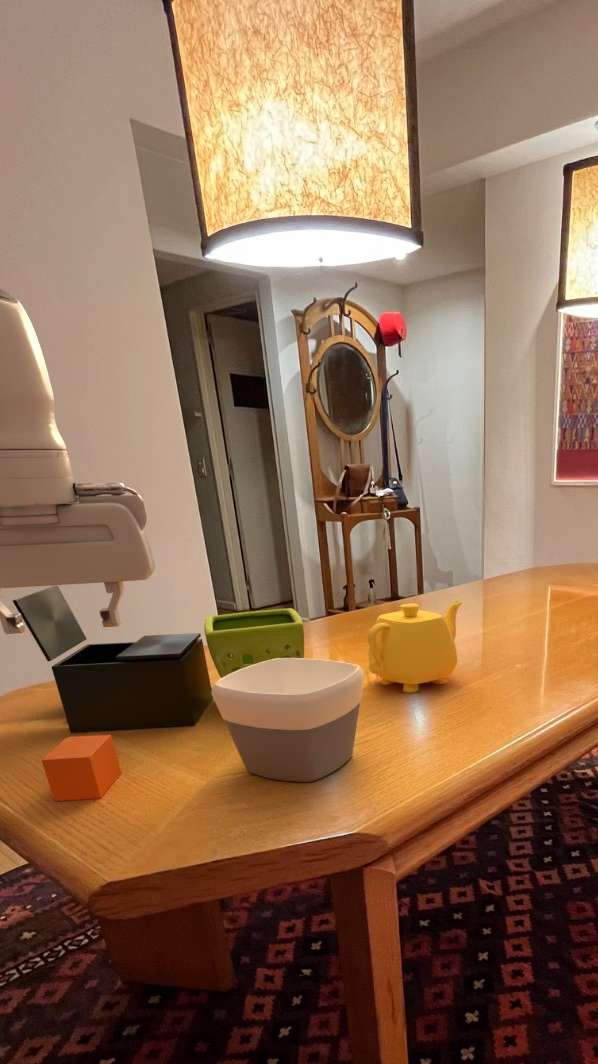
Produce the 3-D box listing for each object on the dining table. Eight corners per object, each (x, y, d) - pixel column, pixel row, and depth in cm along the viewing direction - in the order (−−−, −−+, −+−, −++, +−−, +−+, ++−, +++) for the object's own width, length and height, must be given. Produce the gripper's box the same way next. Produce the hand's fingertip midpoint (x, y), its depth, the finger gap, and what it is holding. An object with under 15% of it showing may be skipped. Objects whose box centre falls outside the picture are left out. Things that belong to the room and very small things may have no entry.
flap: (51, 660, 90) (47, 661, 90) (87, 639, 102) (84, 640, 102) (15, 599, 86) (11, 600, 86) (57, 584, 98) (53, 585, 98)
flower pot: (304, 683, 114) (294, 606, 108) (315, 707, 102) (305, 622, 96) (218, 692, 110) (203, 613, 105) (219, 719, 98) (202, 631, 93)
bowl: (285, 734, 92) (274, 653, 87) (385, 748, 86) (379, 663, 81) (209, 778, 79) (190, 686, 74) (320, 798, 74) (308, 700, 69)
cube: (101, 798, 75) (89, 757, 73) (54, 801, 75) (41, 760, 72) (121, 773, 81) (111, 734, 79) (78, 775, 81) (67, 737, 79)
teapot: (348, 684, 112) (340, 606, 107) (439, 662, 124) (436, 590, 119) (397, 702, 103) (392, 618, 98) (491, 676, 115) (491, 599, 109)
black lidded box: (70, 733, 95) (49, 660, 90) (103, 704, 106) (85, 638, 102) (194, 725, 96) (179, 653, 91) (213, 698, 108) (200, 632, 103)
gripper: (144, 481, 70) (171, 616, 76) (-79, 488, 66) (-30, 630, 72) (133, 482, 65) (164, 627, 71) (-110, 489, 60) (-55, 643, 66)
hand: (64, 629), depth 71 cm, fingers open, 8 cm apart
